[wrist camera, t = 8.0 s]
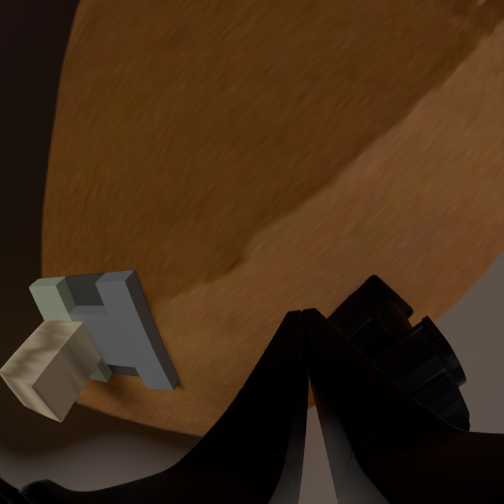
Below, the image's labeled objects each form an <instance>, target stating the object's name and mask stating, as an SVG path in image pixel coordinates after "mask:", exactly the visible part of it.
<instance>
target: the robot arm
mask: <svg viewBox="0 0 504 504" xmlns="http://www.w3.org/2000/svg"><path fill="white" fill-rule="evenodd" d="M374 280H376V282H374V283H372V282H373V281H374ZM408 311H409V312H408ZM407 312H408V313H407ZM412 314H413V309H412V308H411V306H409V305H408V304H407V303H406V302H405V301H404V300H403V299H402V298H401V297H400V296H399V295H398V294H397V293H396V292H395V291H393V290H392V289H391V288H390V287H389V286H388V285H387V284H386V283H385V282H384V281H382V280H381V279H380V278H379V277H378V276H376V275H372V276H371V277H369V278H368V280H367V281H366V282H365V283H364V284H363V285H362V286H361V287H360V288H359V289H358V290H357V291H355V292H354V293H353V294H352V295H351V296H350V297H348V298H347V299H346V300H345V301H344V302H343V303H342V304H341V305H340V306H339V307H338V308H337V309H336V311H335V312H334V313H333V314H332V315H331V316H330V317H329V318H328V319H326V318H325V317H324V316H323V315H322V314H321V313H320V312H319V311H318V310H317V309H316V308H310V309H304V310H302V311H301V310H296V311H289V312H288V313H287V314H286V316H285V318H284V319H283V321H282V323H281V324H280V326H279V328H278V330H277V331H276V333H275V335H274V336H273V338H272V340H271V341H270V343H269V345H268V346H267V348H266V350H265V351H264V353H263V355H262V356H261V358H260V360H259V361H258V363H257V364H256V366H255V368H254V369H253V371H252V373H251V374H250V376H249V377H248V379H247V380H246V382H245V384H244V385H243V388H241V390H240V391H239V393H238V394H237V396H236V397H235V399H234V400H233V402H232V403H231V404H230V406H229V407H228V409H227V410H226V411H225V412H224V414H223V415H222V416H221V417H220V418H219V420H218V421H217V422H216V423H215V424H214V425H213V427H212V428H211V429H210V430H209V431H208V432H207V433H206V434H205V435H204V436H203V437H202V438H201V439H200V440H199V442H198V443H197V444H196V445H195V446H194V447H193V448H192V449H191V450H190V451H189V452H188V453H187V454H186V455H185V456H184V457H183V458H182V459H181V460H180V461H178V462H177V463H176V464H175V465H173V466H172V467H170V468H168V469H166V470H164V471H162V472H160V473H157V474H154V475H151V476H148V477H145V478H142V479H139V480H135V481H132V482H128V483H125V484H121V485H117V486H113V487H110V488H105V489H101V490H95V491H87V492H85V491H82V492H81V491H72V490H69V489H66V488H64V487H62V486H60V485H59V484H57V483H55V482H53V481H51V480H49V479H43V480H39V481H35V482H32V483H29V484H27V485H25V486H24V487H22V488H21V489H18V488H17V487H15V486H14V485H12V484H11V483H9V482H8V481H7V480H5V479H4V478H2V477H1V476H0V504H298V501H299V494H300V486H301V477H302V468H303V458H304V448H305V435H306V422H307V407H308V388H309V379H310V384H311V388H312V392H313V396H314V400H315V404H316V408H317V412H318V417H319V421H320V425H321V429H322V433H323V437H324V442H325V447H326V451H327V455H328V459H329V464H330V469H331V473H332V478H333V483H334V487H335V492H336V497H337V499H338V500H337V501H338V504H504V434H499V433H481V432H470V431H469V428H470V423H469V416H470V415H469V411H468V409H467V406H466V404H465V402H464V399H463V397H462V395H461V392H460V390H459V388H458V387H460V386H461V385H462V384H464V383H465V382H466V377H465V374H464V371H463V369H462V367H461V365H460V363H459V360H458V358H457V357H456V355H455V353H454V351H453V349H452V348H451V346H450V344H449V343H448V341H447V340H446V339H445V337H444V336H443V335H442V334H441V332H440V331H439V329H438V328H437V327H436V326H435V324H434V323H433V322H432V321H431V319H430V318H429V317H428V316H426V317H424V318H423V319H422V321H421V322H420V323H418V324H417V325H416V326H414V327H412V325H411V324H410V322H409V320H408V318H409V317H411V316H412ZM308 372H309V375H308Z"/></svg>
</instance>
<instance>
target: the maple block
mask: <svg viewBox="0 0 504 504" xmlns="http://www.w3.org/2000/svg"><path fill="white" fill-rule="evenodd" d="M101 359H102V356H101V355H100V353H99V351H98V349H97V347H96V346H95V344H94V342H93V340H92V338H91V336H90V335H89V333H88V331H87V329H86V327H85V325H84V323H83V322H72V321H57V320H45V321H44V322H43V323H42V324H41V325H40V326H39V327H38V328H37V329H36V330H35V331H34V332H33V334H31V336H30V337H29V338H28V339H27V340H26V341H25V342H24V343H23V344H22V345H21V347H20V348H19V349H18V350H17V351H16V352H15V353H14V354H13V355H12V357H11V358H10V359H9V360H8V361H7V362H6V364H5V365H4V366H3V367H2V368H1V370H0V375H1V376H2V378H3V379H4V381H5V382H6V383H7V385H8V386H9V387H10V389H11V390H12V391H13V392H14V394H15V395H16V396H17V397H18V399H19V400H20V401H21V402H22V403H23V405H24V406H26V407H28V408H30V409H32V410H35V411H36V412H39V413H41V414H43V415H45V416H47V417H50V418H52V419H54V420H57V421H59V422H62V421H63V420H64V418H65V416H66V414H67V413H68V411H69V409H70V408H71V406H72V404H73V403H74V401H75V399H76V398H77V396H78V395H79V393H80V391H81V390H82V388H83V387H84V385H85V383H86V382H87V380H88V379H89V377H90V375H91V374H92V372H93V371H94V369H95V368H96V366H97V365H98V363H99V362H100V360H101Z"/></svg>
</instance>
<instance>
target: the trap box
mask: <svg viewBox="0 0 504 504" xmlns="http://www.w3.org/2000/svg"><path fill="white" fill-rule="evenodd" d="M29 288H30V290H31V293H32V295H33V297H34V300H35V302H36V304H37V306H38V308H39V310H40V312H41V314H42V316H43V318H44V320H57V321H72V322H83V323H84V325H85V327H86V329H87V331H88V333H89V335H90V336H91V338H92V340H93V342H94V344H95V346H96V347H97V349H98V351H99V353H100V355H101V356H102V359H101V360H100V362H99V363H98V365H97V366H96V368H95V369H94V371H93V372H92V374H91V375H90V377H89V379H92V380H97V381H103V382H108V381H109V379H110V377H111V376H112V374H113V373H114V374H122V375H130V376H139V377H141V379H142V380H143V382H144V384H145V386H146V387H147V388H152V389H162V390H174V389H175V386H176V383H177V380H178V376H177V374H176V372H175V369H174V367H173V365H172V363H171V361H170V359H169V356H168V354H167V352H166V350H165V347H164V345H163V343H162V340H161V338H160V336H159V333H158V331H157V329H156V326H155V324H154V321H153V319H152V316H151V314H150V311H149V308H148V306H147V303H146V300H145V298H144V295H143V292H142V289H141V287H140V284H139V281H138V278H137V275H136V272H135V270H130V271H119V272H109V273H98V274H88V275H77V276H66V277H55V278H44V279H38V280H37V281H36V282H35V283H33V284H32V285H31V286H29Z"/></svg>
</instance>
